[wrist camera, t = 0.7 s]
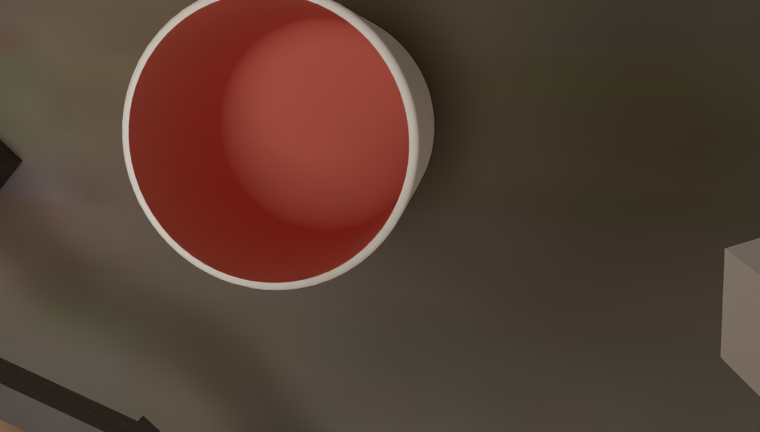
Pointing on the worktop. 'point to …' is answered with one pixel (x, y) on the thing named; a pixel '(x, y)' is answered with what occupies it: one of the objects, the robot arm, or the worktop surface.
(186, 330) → the worktop surface
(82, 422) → the jointed metal bar
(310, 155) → the cup
